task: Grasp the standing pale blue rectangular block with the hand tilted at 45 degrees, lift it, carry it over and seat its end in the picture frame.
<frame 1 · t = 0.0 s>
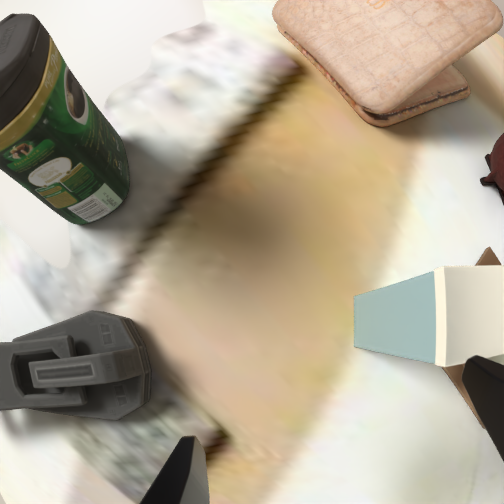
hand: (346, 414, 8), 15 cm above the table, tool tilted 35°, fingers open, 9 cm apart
mate gourd: (495, 184, 26), on the table
case: (377, 55, 30), on the table
zipper pull: (40, 371, 22), on the table
picture frame: (491, 340, 22), on the table
coffee jar: (95, 180, 26), on the table
pale blue rectangular block: (377, 320, 23), on the table
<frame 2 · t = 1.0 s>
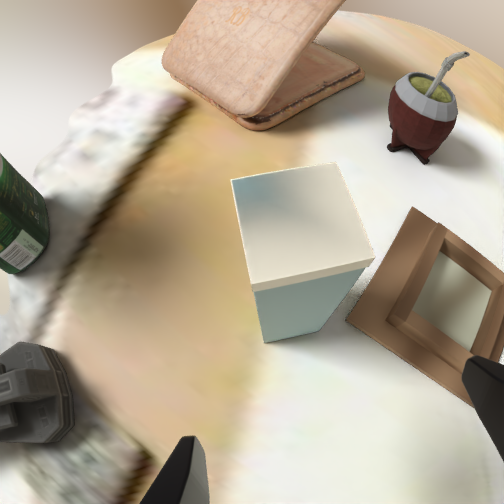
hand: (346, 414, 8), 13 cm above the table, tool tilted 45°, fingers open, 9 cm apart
mate gourd: (409, 148, 28), on the table
case: (264, 72, 36), on the table
picture frame: (448, 305, 21), on the table
coffee jar: (27, 236, 27), on the table
pale blue rectangular block: (285, 310, 22), on the table
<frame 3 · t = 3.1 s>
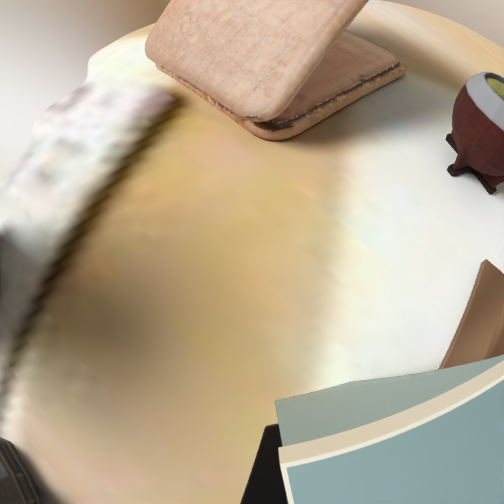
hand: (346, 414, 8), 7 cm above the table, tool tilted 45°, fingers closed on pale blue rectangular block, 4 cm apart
mate gourd: (470, 170, 20), on the table
case: (277, 61, 27), on the table
pale blue rectangular block: (321, 427, 13), on the table, touching gripper
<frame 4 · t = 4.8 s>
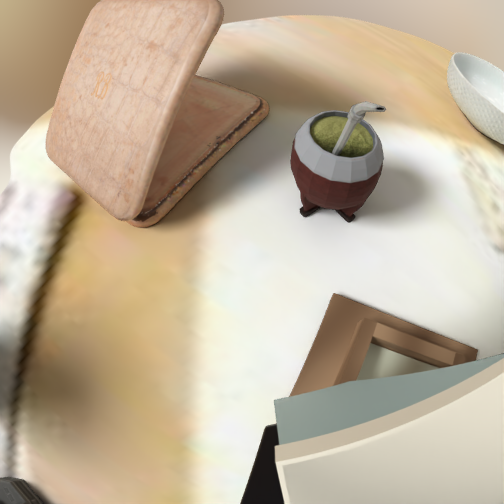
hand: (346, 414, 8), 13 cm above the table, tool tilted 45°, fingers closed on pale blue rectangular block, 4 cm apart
mate gourd: (328, 202, 27), on the table
case: (153, 134, 32), on the table
picture frame: (386, 398, 19), on the table
pale blue rectangular block: (320, 427, 13), point 7 cm above the table, touching gripper
cereal bowl: (484, 122, 31), on the table
when the fingers open (8 cm above the table, at t = 6.7 s): pale blue rectangular block stays where it is, resting on picture frame.
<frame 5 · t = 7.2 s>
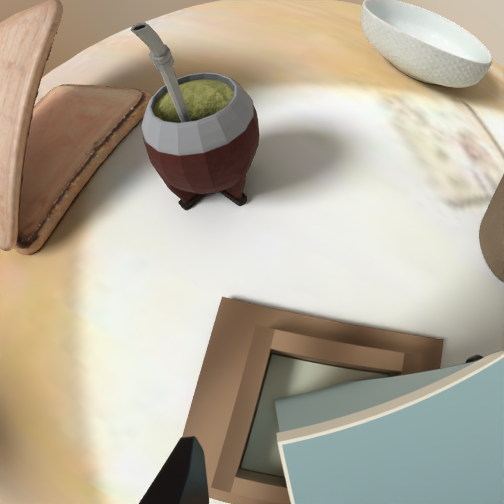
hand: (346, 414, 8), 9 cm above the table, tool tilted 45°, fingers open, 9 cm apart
mate gourd: (216, 187, 22), on the table
case: (46, 154, 27), on the table
picture frame: (316, 423, 15), on the table
pale blue rectangular block: (318, 425, 14), point 1 cm above the table, touching picture frame
cereal bowl: (417, 68, 29), on the table
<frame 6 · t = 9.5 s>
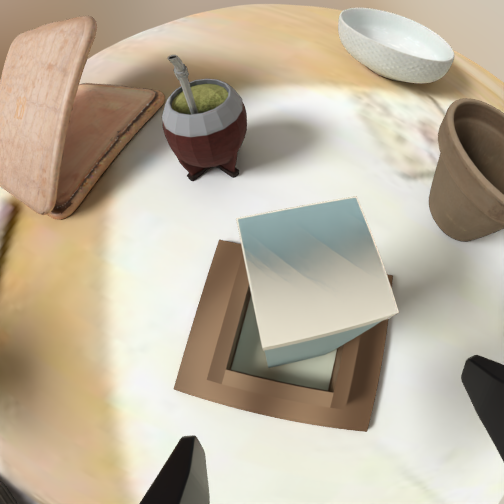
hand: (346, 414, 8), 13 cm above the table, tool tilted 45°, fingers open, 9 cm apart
mate gourd: (215, 164, 29), on the table
case: (72, 142, 33), on the table
picture frame: (290, 335, 22), on the table
pale blue rectangular block: (290, 334, 21), point 1 cm above the table, touching picture frame
cereal bowl: (389, 68, 36), on the table
flower pot: (454, 215, 25), on the table
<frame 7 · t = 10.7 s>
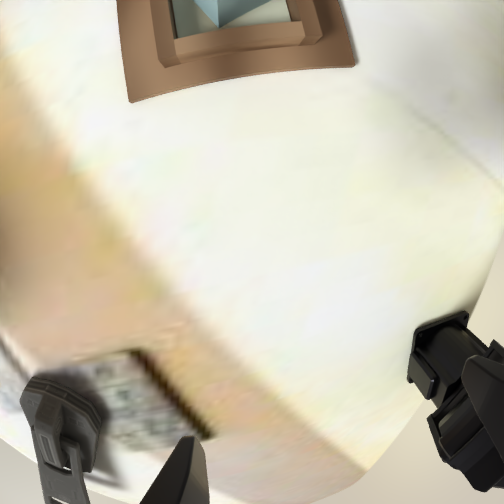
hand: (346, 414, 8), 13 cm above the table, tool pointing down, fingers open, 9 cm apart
zipper pull: (70, 445, 27), on the table
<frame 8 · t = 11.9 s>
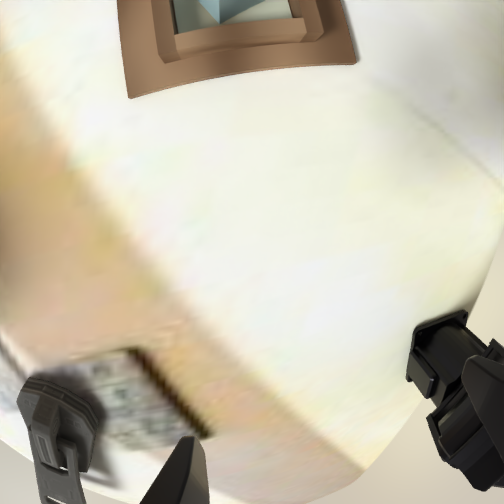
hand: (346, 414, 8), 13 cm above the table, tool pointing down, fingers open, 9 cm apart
zipper pull: (66, 445, 26), on the table
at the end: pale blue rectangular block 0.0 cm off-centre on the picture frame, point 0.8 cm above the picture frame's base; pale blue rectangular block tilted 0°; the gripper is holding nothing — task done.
